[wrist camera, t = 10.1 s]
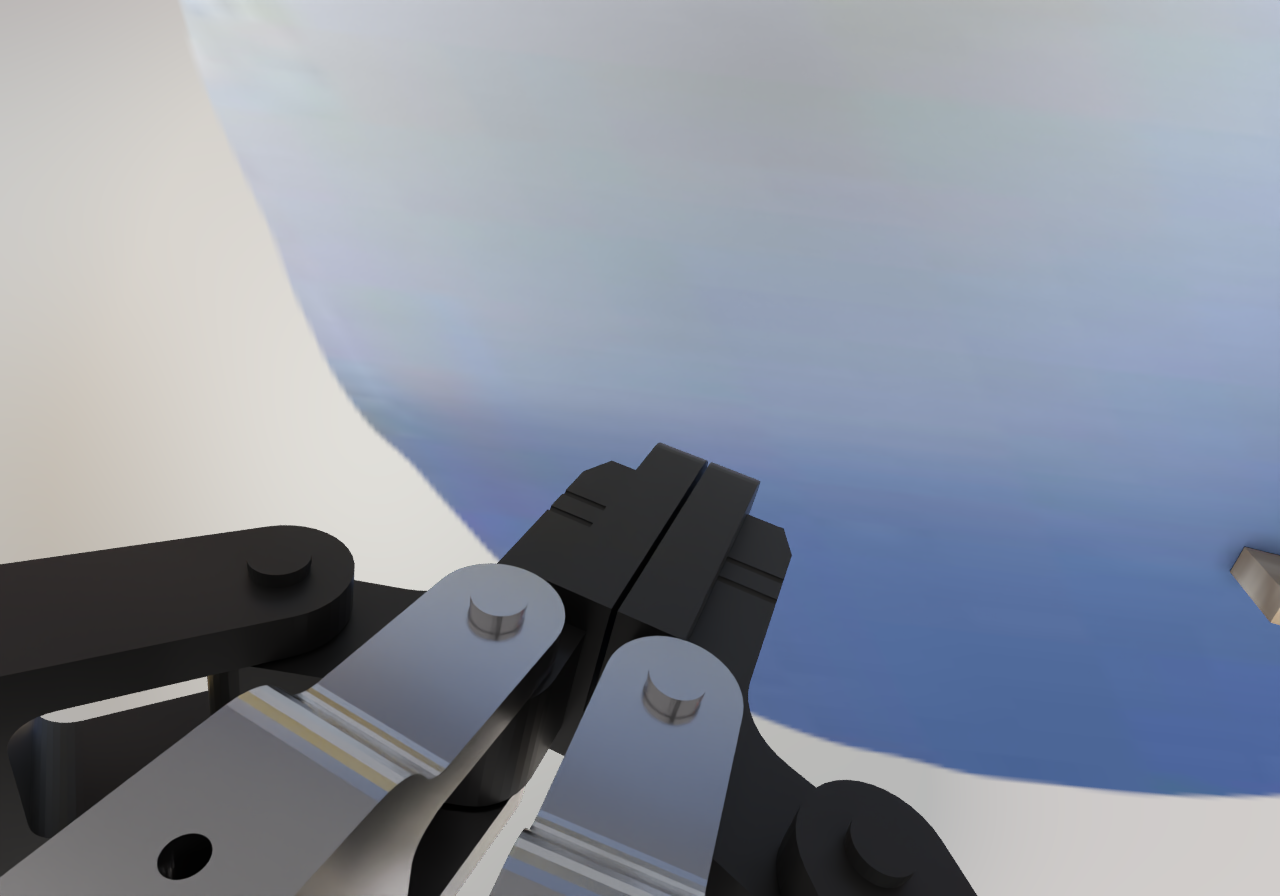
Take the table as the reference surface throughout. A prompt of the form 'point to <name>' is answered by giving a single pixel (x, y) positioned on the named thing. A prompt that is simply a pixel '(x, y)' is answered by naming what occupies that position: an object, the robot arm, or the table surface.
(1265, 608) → the bracket
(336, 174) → the table surface
